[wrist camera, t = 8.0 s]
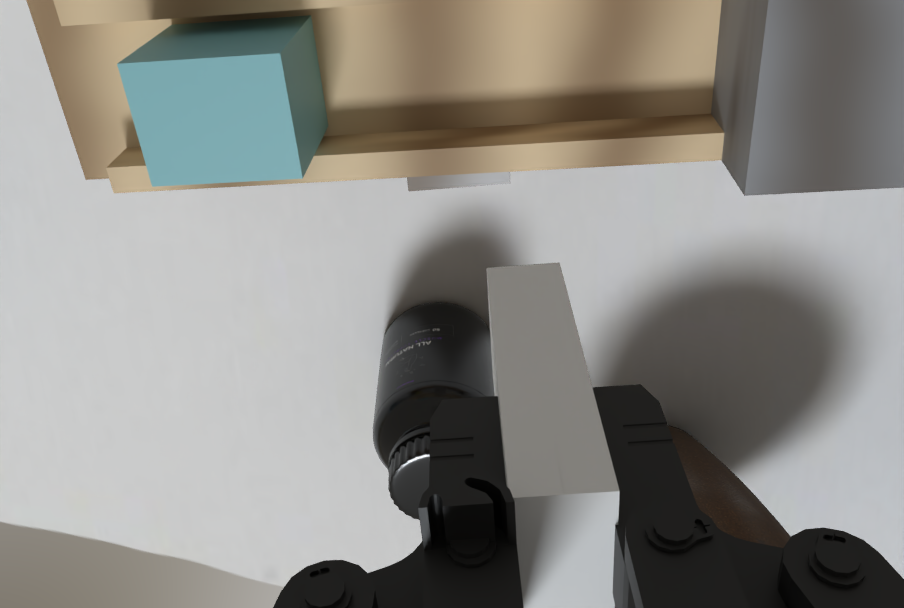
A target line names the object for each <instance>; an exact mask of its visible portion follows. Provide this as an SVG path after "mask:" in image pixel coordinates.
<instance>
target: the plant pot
mask: <svg viewBox="0 0 904 608" xmlns="http://www.w3.org/2000/svg"><path fill="white" fill-rule="evenodd" d="M668 428H669V430H670V433H671V436H672V438H673V443H674V444H675V447H676V449H677V452H678V455H679V457H680V460H681V463H682V465H683V468H684V471H685V474H686V476H687V479H688V482H689V484H690V487H691V490H692V492H693V495H694V498H695V501H696V503H697V505H698V507H699V509H700V510H701V511H702V512H704V513H705V514H706V515H708V516H709V517H710V518H712V520H713V521H714V523H715V524H716V526H717V527H718V528H719V529H720V530H722V531H723V532H725V533H728V534H730V535H732V536H734V537H736V538H739V539H743V540H747V541H750V542H755V543H760V544H765V545H770V546H776V547H781V548H784V546H785V545H786V543H787V542H788V540H789V539H790V538H791V537H790V535H789V534H788V533H787V532H786V530H785V529H784V528H783V527H782V526H781V524H780V523H779V522H778V521H777V520H776V519H775V517H774V516H773V515H772V514H771V513H770V512H769V511H768V509H767V508H766V507H765V506H764V505H763V504H762V503H761V502H760V501H759V499H758V498H757V497H756V496H755V495H754V494H753V493H752V492H751V491H750V490H749V489H748V488H747V487H746V485H745V484H744V483H743V482H742V481H741V480H740V479H739V478H738V477H737V476H736V475H735V474H734V473H732V472H731V471H730V470H729V469H728V468H727V467H726V466H725V465H724V464H723V463H722V462H721V461H720V460H719V459H718V458H717V457H715V456H714V455H713V454H712V453H711V452H710V451H708V450H707V449H706V448H705V447H704V446H703V445H702V444H700V443H699V442H698V441H697V440H695V439H694V438H693V437H692V436H690V435H689V434H688V433H686V432H684V431H682V430H680V429H678V428H674V427H671V426H668ZM615 608H616V607H615Z"/></svg>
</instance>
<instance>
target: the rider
mask: <svg viewBox="0 0 904 608" xmlns="http://www.w3.org/2000/svg"><path fill="white" fill-rule="evenodd" d="M117 66H118V69H119V73H120V76H121V80H122V83H123V87H124V90H125V94H126V97H127V101H128V104H129V108H130V111H131V115H132V118H133V122H134V125H135V129H136V132H137V136H138V139H139V143H140V146H141V150H142V153H143V157H144V160H145V164H146V167H147V171H148V174H149V178H150V181H151V185H152V187H156V186H175V185H193V184H212V183H230V182H249V181H267V180H286V179H303V177H304V175H305V173H306V171H307V169H308V167H309V165H310V163H311V161H312V159H313V157H314V154H315V152H316V150H317V148H318V146H319V144H320V142H321V140H322V138H323V136H324V134H325V132H326V130H327V128H328V120H327V113H326V107H325V101H324V94H323V88H322V82H321V75H320V69H319V63H318V56H317V50H316V43H315V37H314V31H313V24H312V18H311V15H307V16H292V17H278V18H263V19H248V20H233V21H219V22H204V23H189V24H174V25H170V26H169V27H168V28H166V29H165V30H163V31H162V32H161V33H159V34H158V35H156V36H155V37H154V38H152V39H151V40H150V41H148V42H147V43H145V44H144V45H143V46H141V47H140V48H138V49H137V50H136V51H134V52H133V53H131V54H130V55H129V56H127V57H126V58H124V59H123V60H122V61H120V62H119V63H117Z"/></svg>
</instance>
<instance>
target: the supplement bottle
mask: <svg viewBox="0 0 904 608" xmlns="http://www.w3.org/2000/svg"><path fill="white" fill-rule="evenodd" d="M488 396H495V393H494V383H493V370H492V353H491V337H490V330H489V328H488V326H487V325H486V324H485V323H484V321H483V320H482V319H481V318H480V317H479V316H477V315H476V314H475V313H473V312H472V311H470V310H468V309H466V308H464V307H461V306H459V305H455V304H451V303H442V302H435V303H427V304H422V305H419V306H416V307H413V308H411V309H409V310H407V311H406V312H404V313H403V314H401V315H400V316H399V317H398V318H396V319H395V321H394V322H393V323H392V324H391V325H390V327H389V328H388V330H387V332H386V334H385V337H384V340H383V345H382V352H381V359H380V368H379V378H378V387H377V396H376V405H375V414H374V424H373V441H374V446H375V449H376V452H377V454H378V456H379V458H380V460H381V461H382V463H383V464H384V465H385V467H386V468H387V469H388V471H389V487H388V488H389V491H390V496H391V498H392V499H393V500H394V504H395V505H397V506H398V508H399V510H401V511H403V512H404V513H405V514H406V515H409V516H411V517H412V518H414V519H419V520H420V518H419V510H418V507H419V504H420V500H421V497H422V494H423V493H424V492H425V491H426V490H427V489H428V488H429V461H430V418H431V417H432V415H433V414H434V412H435V410H436V409H437V407H438V406H439V404H440V402H441V401H442V400H443V399H458V398H473V397H488Z"/></svg>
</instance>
